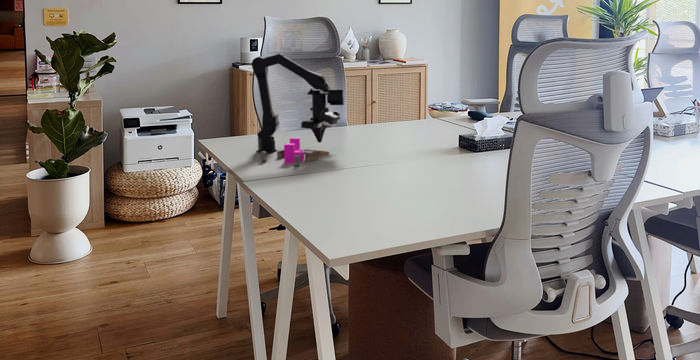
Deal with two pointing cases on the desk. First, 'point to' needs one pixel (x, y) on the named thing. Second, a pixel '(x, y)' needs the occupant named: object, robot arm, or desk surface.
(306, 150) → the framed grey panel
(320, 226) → the desk surface
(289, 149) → the magenta curved bracket
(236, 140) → the desk surface
